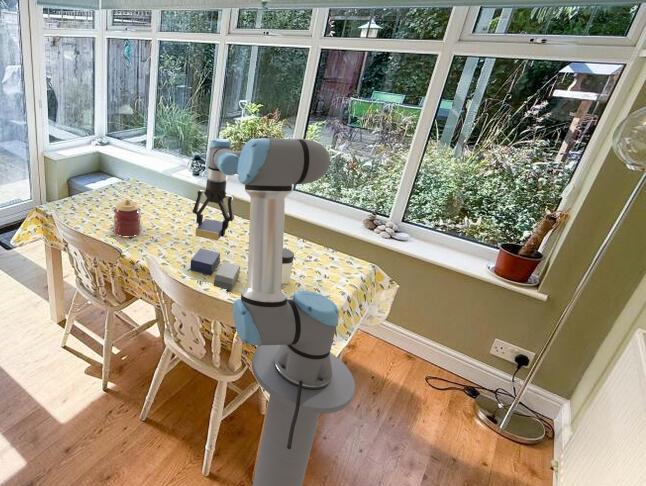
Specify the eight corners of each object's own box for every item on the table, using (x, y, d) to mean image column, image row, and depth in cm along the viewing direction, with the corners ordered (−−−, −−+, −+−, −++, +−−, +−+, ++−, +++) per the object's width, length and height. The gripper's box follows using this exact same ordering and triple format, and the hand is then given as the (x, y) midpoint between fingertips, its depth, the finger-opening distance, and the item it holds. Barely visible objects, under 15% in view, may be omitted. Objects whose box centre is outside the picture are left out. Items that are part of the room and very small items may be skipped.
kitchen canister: (110, 229, 204) (109, 196, 197) (134, 225, 208) (134, 192, 202) (119, 240, 193) (119, 206, 186) (144, 236, 197) (145, 202, 191)
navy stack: (211, 275, 165) (212, 264, 163) (190, 270, 168) (191, 259, 167) (219, 263, 175) (220, 252, 173) (199, 258, 179) (200, 247, 177)
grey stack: (231, 290, 155) (232, 279, 153) (213, 286, 158) (214, 274, 156) (239, 276, 165) (240, 265, 163) (222, 272, 168) (223, 261, 166)
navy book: (217, 240, 157) (218, 233, 156) (195, 235, 161) (195, 228, 160) (226, 229, 168) (226, 222, 167) (204, 225, 172) (205, 218, 171)
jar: (263, 278, 164) (267, 251, 160) (273, 270, 170) (278, 245, 165) (283, 287, 158) (288, 260, 154) (294, 279, 164) (299, 253, 159)
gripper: (247, 181, 156) (240, 235, 164) (193, 172, 165) (188, 224, 173) (242, 186, 149) (235, 242, 157) (186, 177, 158) (182, 230, 166)
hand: (211, 232), depth 165 cm, fingers closed on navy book, 9 cm apart
